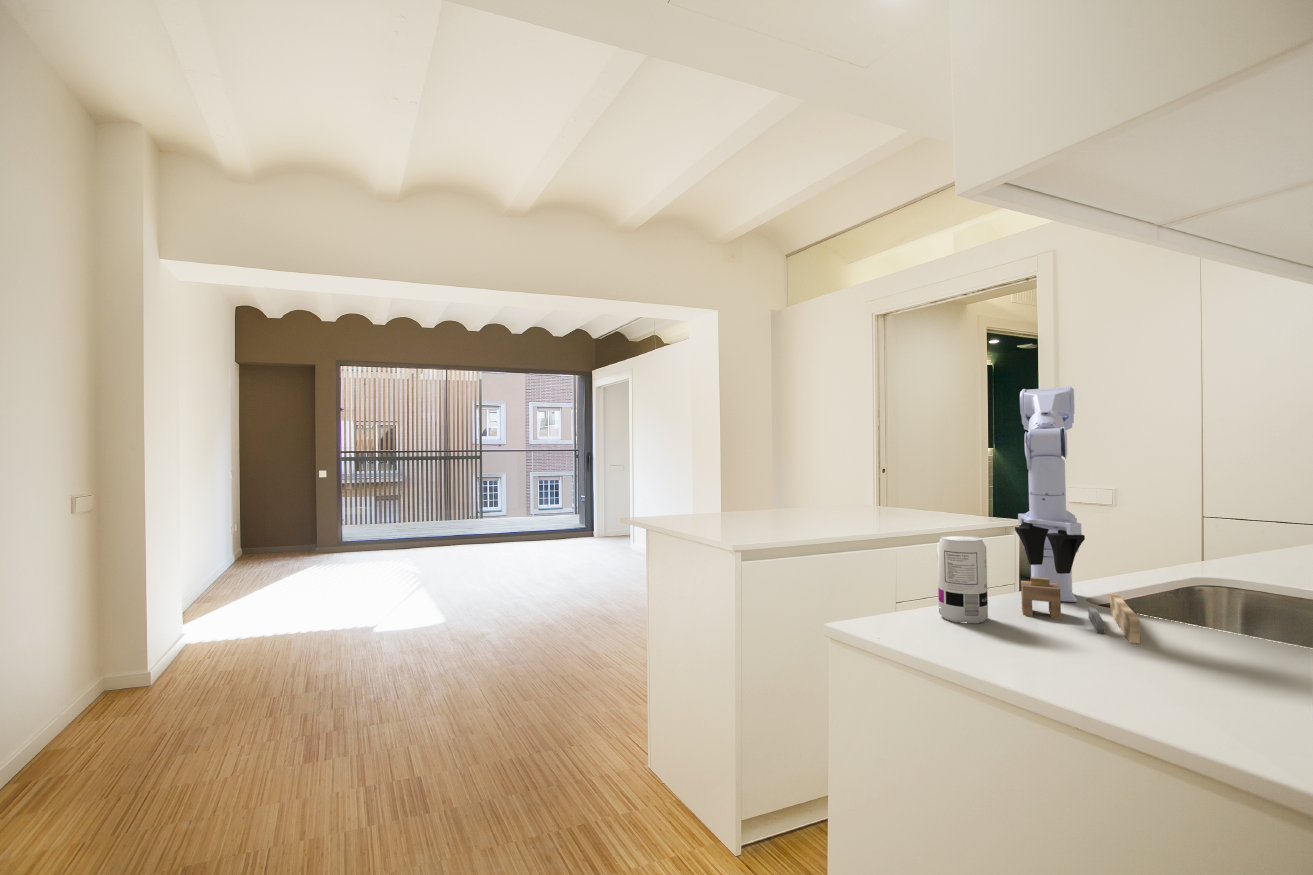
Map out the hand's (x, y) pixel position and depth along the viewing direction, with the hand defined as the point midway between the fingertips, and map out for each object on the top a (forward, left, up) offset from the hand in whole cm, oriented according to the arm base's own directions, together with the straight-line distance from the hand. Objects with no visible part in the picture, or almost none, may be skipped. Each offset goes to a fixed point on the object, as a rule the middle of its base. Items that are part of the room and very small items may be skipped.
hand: (1049, 568), depth 114 cm
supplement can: (+4, -14, -10) cm, 18 cm away
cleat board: (0, +9, -10) cm, 13 cm away
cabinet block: (-5, -1, -10) cm, 11 cm away
